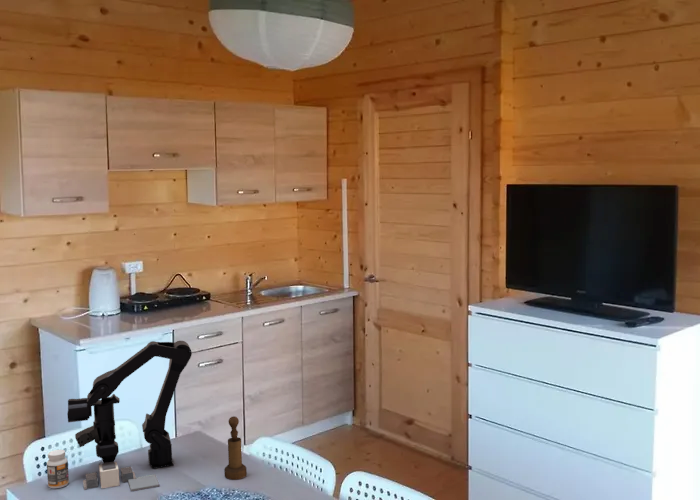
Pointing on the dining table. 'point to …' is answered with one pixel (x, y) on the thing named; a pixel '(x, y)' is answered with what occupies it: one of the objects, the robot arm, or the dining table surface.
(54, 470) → the pill bottle
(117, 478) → the beige open box
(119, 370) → the robot arm
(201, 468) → the dining table surface
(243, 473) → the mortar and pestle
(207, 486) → the dining table surface
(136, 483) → the mat
